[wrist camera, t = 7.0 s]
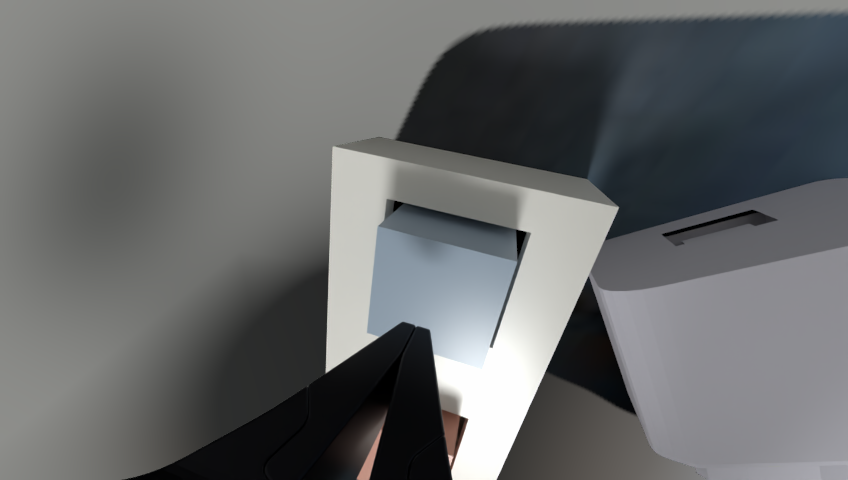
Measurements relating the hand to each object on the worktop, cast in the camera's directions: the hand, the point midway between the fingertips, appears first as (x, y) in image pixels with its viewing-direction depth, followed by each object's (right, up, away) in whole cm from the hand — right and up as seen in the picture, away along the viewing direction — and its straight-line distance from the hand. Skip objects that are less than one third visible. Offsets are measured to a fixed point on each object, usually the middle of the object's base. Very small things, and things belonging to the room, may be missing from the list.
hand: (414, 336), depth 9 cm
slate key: (+2, +2, +6) cm, 6 cm away
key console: (+1, -1, +10) cm, 10 cm away
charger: (+15, -3, +7) cm, 17 cm away
